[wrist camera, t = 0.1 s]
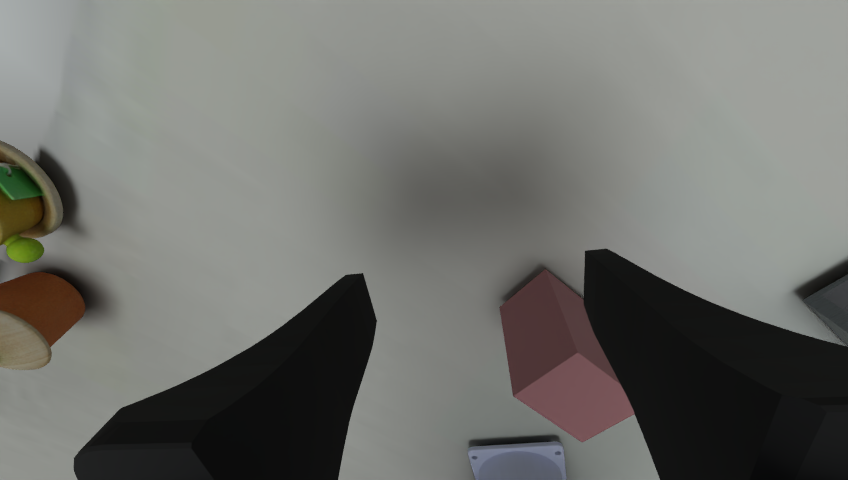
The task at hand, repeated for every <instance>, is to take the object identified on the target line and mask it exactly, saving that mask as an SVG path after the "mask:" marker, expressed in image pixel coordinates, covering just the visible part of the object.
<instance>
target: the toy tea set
mask: <svg viewBox="0 0 848 480" xmlns="http://www.w3.org/2000/svg"><path fill="white" fill-rule="evenodd" d="M62 218H63V206H62V202H61V199H60V196H59V193H58V191H57V189H56V187H55V186H54V184H53V182H52V181H51V180H50V178H49V177H48V176H47V174H46V173H45V172H44V171H43V170H42V169H41V168H40V167H39V166H38V165H37V164H36V163H35V162H34V161H33V160H32V159H30V157H28V156H27V155H25V154H24V153H23V152H21V151H20V150H18V149H16V148H15V147H13V146H11V145H9V144H7V143H5V142H2V141H0V245H2V244H4V245H6V246H7V249H6V251H7V255H8V256H9V257H10V258H11V259H13V260H15V261H17V262H21V263H29V262H33V261H35V260H37V259H39V258H40V257H41V256H42V255H43V253H44V247H43V245H42V244H41V243H40V242H39V241H37V240H35V239H32V238H39V237H43V236H45V235H48V234H50V233H52V232H54V231H55V230H56V229H57V228H58V227H59V225H60V224H61V222H62ZM84 312H85V303H84V300H83V298H82V296H81V295H80V293H79V292H78V291H77V290H76V289H75V288H74V287H73V286H72V285H71V284H70V283H68V282H67V281H65V280H64V279H62V278H60V277H58V276H56V275H53V274H49V273H44V272H35V273H30V274H26V275H24V276H21V277H18V278H15V279H13V280H10V281H7V282H4V283H1V284H0V367H3V368H8V369H15V370H34V369H39V368H41V367H44V366H45V365H47V364H48V363H49V361H50V360H51V355H52V352H51V348H50V347H51V346H52V345H53V344H54V343H55V342H56V341H57V340H58V339H59V338H61V337H62V336H63V335H64V334H65V333H66V332H67V331H68V330H69V329H70V328H71V327H72V326H73V325H74V324H75V323H76V322H77V321H79V320H80V319H81V318H82V317H83V315H84Z"/></svg>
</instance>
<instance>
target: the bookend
mask: <svg viewBox="0 0 848 480" xmlns="http://www.w3.org/2000/svg"><path fill="white" fill-rule="evenodd" d="M803 301H804V302H805V303H806V304H807V305H808V306H809V307H810V308H811V309H812V310H813V311H814V312H815V313H816V314H817V315H818V316H819V317H820V318H821V319H822V320H823V321H824V322H825V323H826V324H827V325H828V326H829V327H830V328H831V329H832V330H833V331H834V332H835V333H836V334H837V335H838V337H839V338H840V339H841V340H842V341H843V342H844V343H845V344H846V345H847V346H848V275H846V276H844V277H842V278H840V279H839V280H837V281H835V282H833V283H832V284H830V285H828V286H826V287H825V288H823V289H821V290H819V291H818V292H816V293H814V294H812V295H811V296H809V297H807V298H805V299H803Z"/></svg>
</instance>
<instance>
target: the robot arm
mask: <svg viewBox="0 0 848 480" xmlns="http://www.w3.org/2000/svg"><path fill="white" fill-rule="evenodd" d="M584 307H585V310H586V313H587V316H588V319H589V322H590V324H591V327H592V330H593V332H594V334H595V336H596V338H597V340H598V342H599V344H600V346H601V348H602V350H603V352H604V354H605V356H606V358H607V359H608V361H609V363H610V365H611V367H612V369H613V371H614V373H615V375H616V377H617V378H618V380H619V382H620V384H621V386H622V388H623V390H624V392H625V394H626V396H627V398H628V400H629V402H630V404H631V406H632V408H633V411H634V413H635V416H636V418H637V421H638V423H639V426H640V428H641V431H642V433H643V436H644V438H645V441H646V443H647V446H648V448H649V451H650V454H651V456H652V459H653V462H654V464H655V467H656V470H657V472H658V475H659V478H660V480H848V347H846V346H842V345H838V344H835V343H831V342H827V341H823V340H819V339H816V338H813V337H809V336H806V335H802V334H799V333H795V332H792V331H789V330H786V329H783V328H780V327H777V326H774V325H771V324H768V323H764V322H761V321H758V320H756V319H753V318H750V317H747V316H744V315H742V314H739V313H736V312H734V311H731V310H729V309H726V308H724V307H721V306H719V305H716V304H714V303H711V302H709V301H707V300H704V299H702V298H700V297H698V296H695V295H693V294H691V293H689V292H687V291H685V290H683V289H681V288H679V287H677V286H675V285H673V284H671V283H669V282H667V281H665V280H663V279H661V278H659V277H657V276H655V275H653V274H652V273H650V272H648V271H646V270H644V269H642V268H641V267H639V266H637V265H635V264H634V263H632V262H630V261H628V260H626V259H625V258H623V257H621V256H619V255H618V254H616V253H614V252H612V251H610V250H608V249H599V250H589V251H585V273H584ZM376 322H377V320H376V316H375V313H374V309H373V306H372V303H371V299H370V296H369V292H368V289H367V285H366V282H365V279H364V275H363V273H361V274H351V275H345V276H344V277H342V278H341V279H340V280H338V281H337V282H336V283H335V284H334V285H332V286H331V287H330V288H329V289H328V290H326V291H325V292H324V293H323V294H322V295H320V296H319V297H318V298H317V299H316V300H314V301H313V302H312V303H311V304H310V305H308V306H307V307H306V308H305V309H304V310H302V311H301V312H300V313H298V314H297V315H296V316H294V317H293V318H292V319H291V320H289V321H288V322H287V323H285V324H284V325H283V326H282V327H280V328H279V329H277V330H276V331H274V332H273V333H272V334H270V335H269V336H267V337H266V338H264V339H263V340H261V341H259V342H258V343H256V344H255V345H253V346H252V347H250V348H248V349H247V350H245V351H243V352H241V353H240V354H238V355H236V356H234V357H233V358H231V359H229V360H227V361H225V362H224V363H222V364H220V365H218V366H216V367H214V368H213V369H211V370H209V371H207V372H205V373H203V374H200V375H198V376H196V377H194V378H192V379H190V380H188V381H186V382H184V383H181V384H179V385H177V386H175V387H172V388H170V389H168V390H165V391H163V392H160V393H158V394H155V395H153V396H151V397H148V398H146V399H143V400H141V401H138V402H136V403H133V404H131V405H128V406H125V407H123V408H121V409H120V410H119V411H117V413H116V414H115V415H114V416H113V417H112V418H111V419H110V420H109V421H108V422H107V423H106V424H105V425H104V426H103V427H102V428H101V429H100V430H99V431H98V432H97V433H96V434H95V435H94V437H93V438H92V439H91V440H90V441H89V442H88V443H87V444H86V445H85V446H84V447H83V448H82V449H81V450H80V451H79V452H78V454H77V455H76V456H75V458H74V472H75V474H76V477H77V479H78V480H338V476H339V471H340V466H341V460H342V455H343V449H344V445H345V440H346V435H347V430H348V426H349V421H350V417H351V413H352V410H353V406H354V403H355V400H356V397H357V394H358V390H359V387H360V384H361V381H362V378H363V375H364V372H365V369H366V366H367V363H368V359H369V356H370V353H371V350H372V346H373V341H374V335H375V329H376ZM468 456H469V460H470V463H471V466H472V470H473V473H474V477H475V480H567V478H566V468H565V458H564V449H563V445H562V443H560V442H540V443H523V444H506V445H489V446H472V447H469V448H468Z"/></svg>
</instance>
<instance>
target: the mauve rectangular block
mask: <svg viewBox="0 0 848 480" xmlns="http://www.w3.org/2000/svg"><path fill="white" fill-rule="evenodd" d="M500 313H501V319H502V326H503V332H504V339H505V346H506V352H507V359H508V365H509V372H510V378H511V385H512V391H513V396H514V397H515V398H517V399H518V400H520V401H521V402H523V403H524V404H526V405H527V406H529V407H530V408H532V409H533V410H535V411H536V412H538V413H539V414H541V415H542V416H544V417H545V418H547V419H548V420H550V421H551V422H552V423H554V424H555V425H557V426H558V427H560V428H561V429H563V430H564V431H566V432H567V433H569V434H570V435H572V436H573V437H575V438H576V439H578V440H579V441H581V442H584V441H586V440H588V439H589V438H591V437H593V436H595V435H597V434H599V433H600V432H602V431H604V430H606V429H608V428H610V427H612V426H613V425H615V424H617V423H619V422H621V421H623V420H624V419H626V418H628V417H630V416H632V415H634V414H635V413H634V411H633V408H632V406H631V404H630V402H629V400H628V398H627V396H626V394H625V392H624V390H623V388H622V386H621V384H620V382H619V380H618V378H617V377H616V375H615V373H614V371H613V369H612V367H611V365H610V363H609V361H608V359H607V358H606V356H605V354H604V352H603V350H602V348H601V346H600V344H599V342H598V340H597V338H596V336H595V334H594V332H593V330H592V327H591V324H590V322H589V319H588V316H587V313H586V310H585V307H584V300H583V299H582V298H581V297H579V296H578V295H577V294H576V293H574V292H573V291H572V290H571V289H569V288H568V287H567V286H566V285H565V284H563V283H562V282H561V281H560V280H558V279H557V278H556V277H555V276H553V275H552V274H551V273H550V272H548V271H547V270H546V269H545V270H544V271H542V272H541V273H540V274H539V275H538V276H536V277H535V278H534V279H533V280H532V281H530V282H529V283H528V284H527V285H526V286H524V287H523V288H522V289H521V290H520V291H518V292H517V293H516V294H515V295H514V296H512V297H511V298H510V299H509V300H508V301H506V302H505V303H504V304H503V305H502V306H500Z"/></svg>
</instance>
